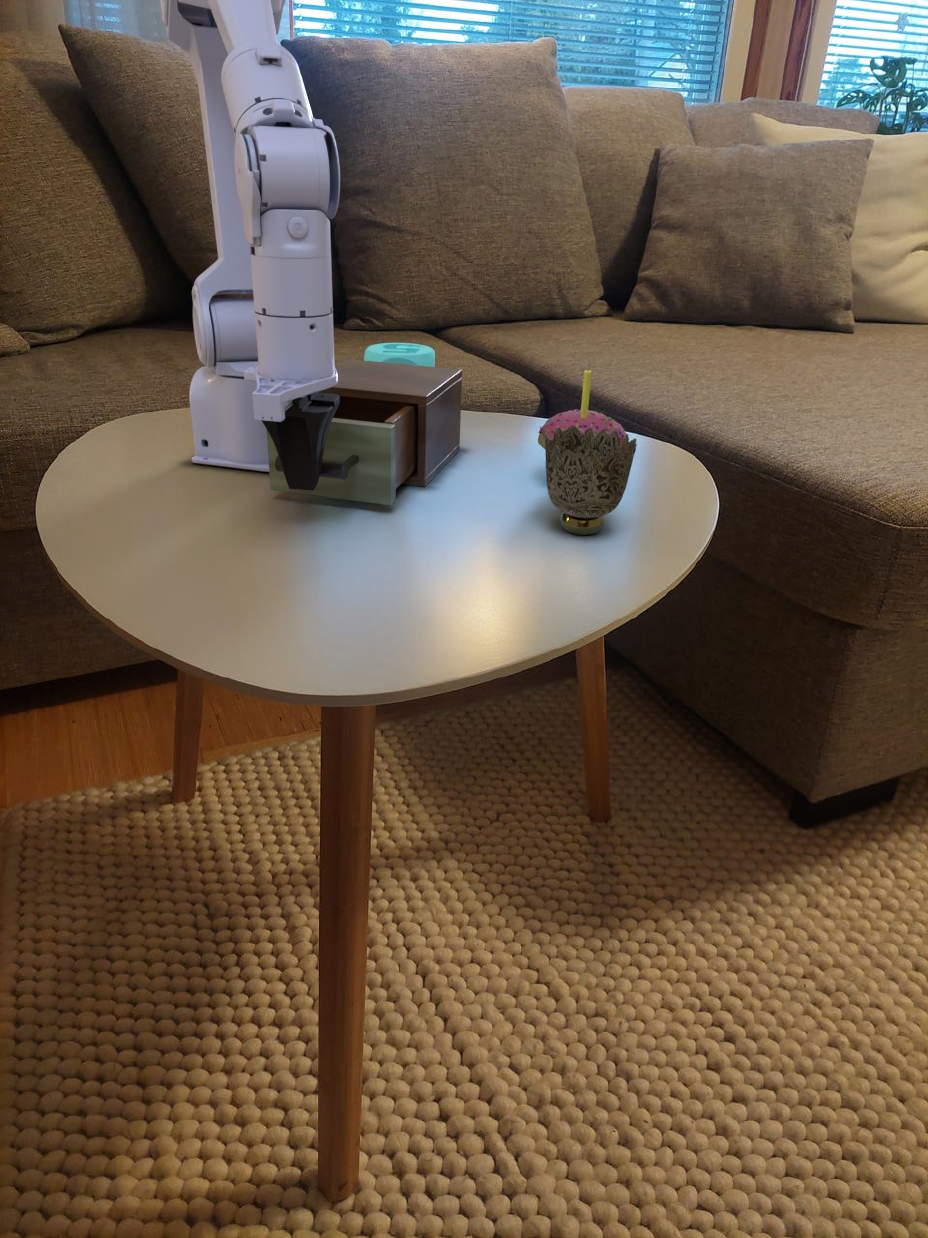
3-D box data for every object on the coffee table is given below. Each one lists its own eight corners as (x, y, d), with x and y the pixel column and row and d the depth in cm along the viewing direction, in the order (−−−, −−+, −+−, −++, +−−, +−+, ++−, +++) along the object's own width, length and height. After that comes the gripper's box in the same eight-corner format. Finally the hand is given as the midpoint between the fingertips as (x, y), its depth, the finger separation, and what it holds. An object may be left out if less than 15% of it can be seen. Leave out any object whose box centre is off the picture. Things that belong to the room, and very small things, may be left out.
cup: (602, 553, 70) (614, 456, 66) (522, 532, 73) (529, 439, 70) (638, 526, 76) (650, 435, 72) (561, 507, 79) (570, 420, 75)
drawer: (374, 522, 72) (373, 441, 69) (248, 505, 74) (241, 426, 71) (429, 466, 85) (430, 397, 82) (321, 454, 88) (318, 386, 85)
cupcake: (619, 502, 81) (636, 370, 75) (529, 493, 82) (538, 363, 77) (623, 474, 88) (638, 352, 83) (540, 466, 90) (549, 346, 84)
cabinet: (425, 487, 83) (426, 396, 79) (302, 472, 85) (297, 383, 82) (459, 450, 94) (462, 369, 90) (349, 438, 96) (347, 358, 92)
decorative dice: (363, 424, 101) (362, 354, 98) (369, 407, 108) (368, 341, 105) (432, 427, 102) (433, 356, 98) (434, 409, 109) (435, 343, 105)
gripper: (273, 296, 71) (283, 457, 78) (203, 324, 59) (222, 514, 65) (357, 300, 71) (360, 463, 77) (305, 330, 58) (314, 521, 64)
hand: (303, 487), depth 71 cm, fingers closed
